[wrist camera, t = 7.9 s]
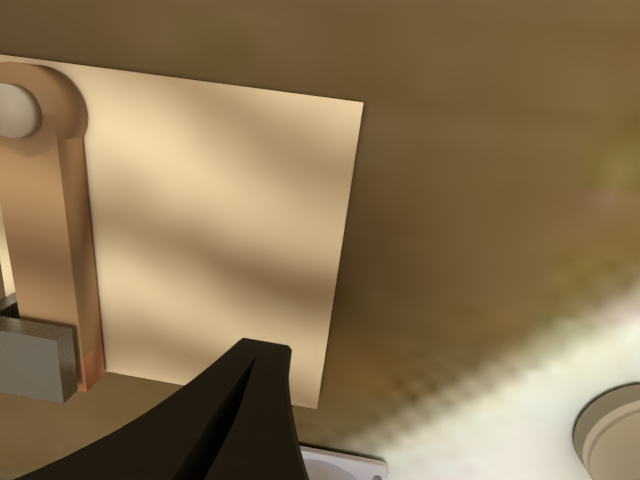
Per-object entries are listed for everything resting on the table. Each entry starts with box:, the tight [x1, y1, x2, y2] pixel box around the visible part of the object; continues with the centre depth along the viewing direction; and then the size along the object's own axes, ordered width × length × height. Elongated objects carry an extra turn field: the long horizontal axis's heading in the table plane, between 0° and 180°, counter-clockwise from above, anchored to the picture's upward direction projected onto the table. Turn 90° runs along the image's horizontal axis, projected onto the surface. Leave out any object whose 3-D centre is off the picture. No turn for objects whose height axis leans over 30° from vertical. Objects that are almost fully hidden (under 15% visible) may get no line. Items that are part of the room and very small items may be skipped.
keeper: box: [0, 292, 78, 404], centre depth 20 cm, size 4×5×3 cm
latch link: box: [0, 62, 105, 392], centre depth 18 cm, size 15×4×2 cm, turn 174°
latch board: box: [0, 55, 363, 409], centre depth 20 cm, size 16×17×1 cm
